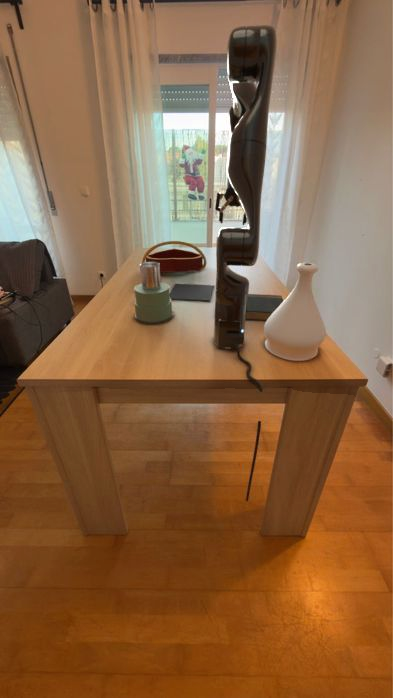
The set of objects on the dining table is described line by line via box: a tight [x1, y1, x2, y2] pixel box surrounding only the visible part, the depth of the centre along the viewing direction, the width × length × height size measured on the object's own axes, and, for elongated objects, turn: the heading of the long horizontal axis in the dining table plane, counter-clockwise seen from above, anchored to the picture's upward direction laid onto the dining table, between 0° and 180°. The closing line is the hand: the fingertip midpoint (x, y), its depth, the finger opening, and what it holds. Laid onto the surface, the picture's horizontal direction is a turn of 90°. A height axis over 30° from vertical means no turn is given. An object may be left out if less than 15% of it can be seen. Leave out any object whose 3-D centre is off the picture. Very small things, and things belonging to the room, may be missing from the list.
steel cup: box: [139, 261, 162, 291], centre depth 96 cm, size 7×7×8 cm
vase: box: [263, 262, 327, 362], centre depth 80 cm, size 17×17×25 cm
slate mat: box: [169, 283, 215, 303], centre depth 124 cm, size 18×18×1 cm
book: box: [246, 293, 284, 322], centre depth 108 cm, size 17×4×25 cm
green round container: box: [133, 281, 174, 325], centre depth 101 cm, size 14×14×11 cm
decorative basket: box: [141, 240, 207, 273], centre depth 149 cm, size 34×29×15 cm
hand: (232, 224), depth 110 cm, fingers open, 8 cm apart
